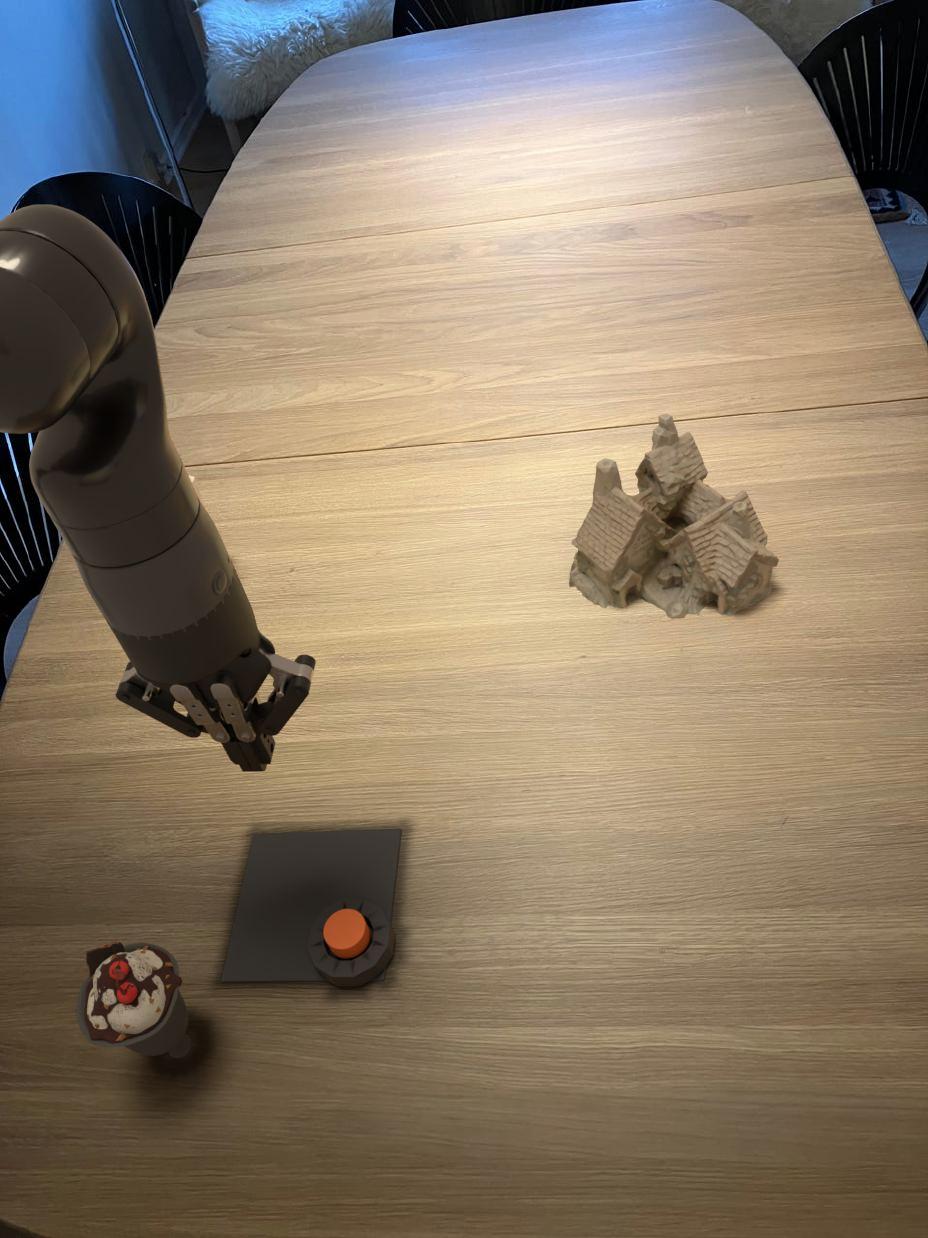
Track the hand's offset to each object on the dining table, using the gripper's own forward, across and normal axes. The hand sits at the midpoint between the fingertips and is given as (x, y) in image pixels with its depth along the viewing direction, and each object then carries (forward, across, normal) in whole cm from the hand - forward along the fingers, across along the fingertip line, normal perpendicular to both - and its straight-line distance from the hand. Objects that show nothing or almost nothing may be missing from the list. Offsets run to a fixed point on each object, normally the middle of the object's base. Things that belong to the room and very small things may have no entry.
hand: (257, 760), depth 70 cm
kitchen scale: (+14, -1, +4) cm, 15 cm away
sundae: (+15, +6, +14) cm, 21 cm away
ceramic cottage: (+14, -29, -28) cm, 43 cm away
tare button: (+12, -5, +7) cm, 14 cm away
